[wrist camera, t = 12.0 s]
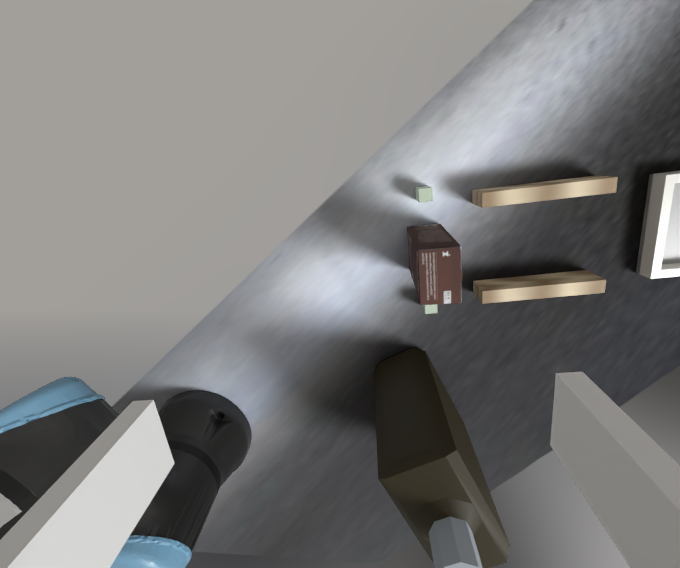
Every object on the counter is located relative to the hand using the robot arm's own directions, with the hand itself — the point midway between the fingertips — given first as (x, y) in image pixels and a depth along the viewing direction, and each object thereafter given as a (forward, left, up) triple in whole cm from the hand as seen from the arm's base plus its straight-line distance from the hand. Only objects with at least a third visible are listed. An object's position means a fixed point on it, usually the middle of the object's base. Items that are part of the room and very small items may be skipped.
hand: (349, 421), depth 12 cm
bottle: (+6, -26, -36) cm, 45 cm away
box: (+8, -3, -36) cm, 37 cm away
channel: (+21, -4, -36) cm, 42 cm away
